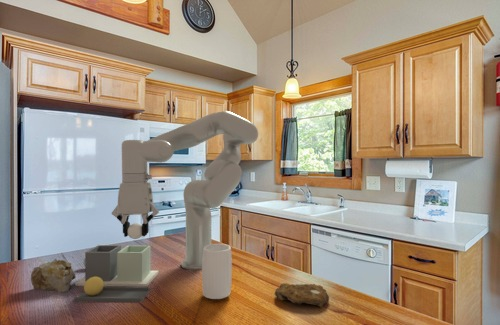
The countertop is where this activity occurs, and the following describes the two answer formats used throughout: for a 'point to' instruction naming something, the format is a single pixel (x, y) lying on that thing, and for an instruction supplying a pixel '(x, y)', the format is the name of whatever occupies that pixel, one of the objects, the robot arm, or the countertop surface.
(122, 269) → the grey double box
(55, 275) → the rock
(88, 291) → the mustard ball
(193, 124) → the robot arm
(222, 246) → the cup
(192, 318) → the countertop surface
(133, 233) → the white ball
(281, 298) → the decorative rock
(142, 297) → the mat
